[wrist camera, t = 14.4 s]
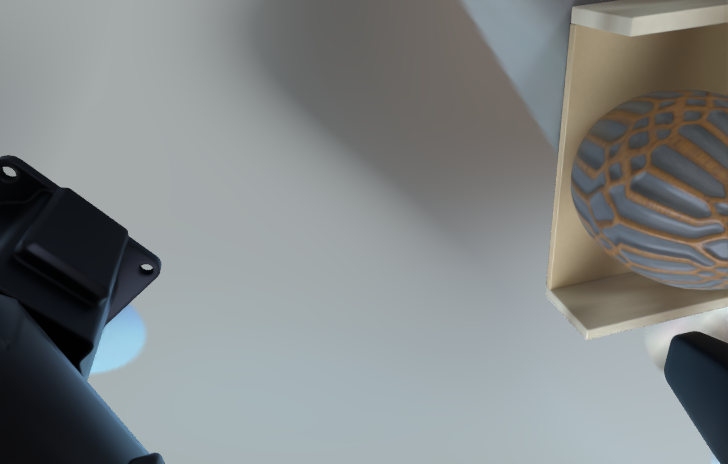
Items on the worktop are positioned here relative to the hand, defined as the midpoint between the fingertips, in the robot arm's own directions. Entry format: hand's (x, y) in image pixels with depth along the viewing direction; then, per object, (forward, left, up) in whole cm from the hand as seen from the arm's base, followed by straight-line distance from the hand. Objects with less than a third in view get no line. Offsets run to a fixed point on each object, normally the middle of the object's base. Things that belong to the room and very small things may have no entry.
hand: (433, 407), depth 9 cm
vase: (+9, -9, -13) cm, 18 cm away
